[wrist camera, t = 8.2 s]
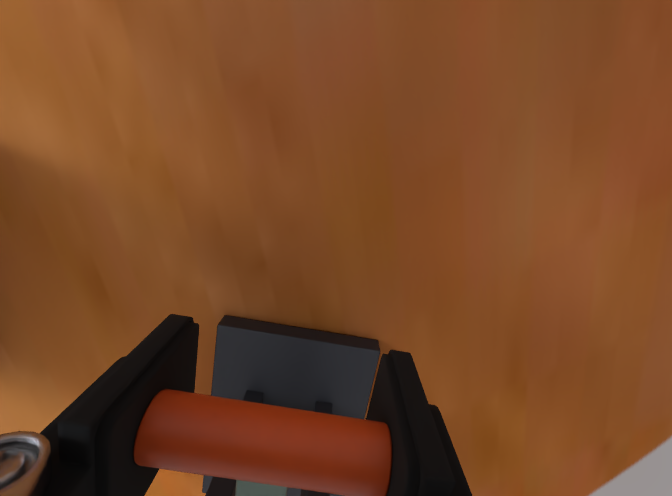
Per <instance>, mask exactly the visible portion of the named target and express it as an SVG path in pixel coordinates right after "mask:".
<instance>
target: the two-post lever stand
mask: <svg viewBox="0 0 672 496" xmlns="http://www.w3.org/2000/svg"><path fill="white" fill-rule="evenodd" d="M379 355H380V348H379V343H378V340H373V339H367V338H361V337H355V336H348V335H342V334H336V333H330V332H324V331H318V330H312V329H306V328H300V327H293V326H287V325H281V324H275V323H269V322H263V321H257V320H251V319H245V318H239V317H232V316H226V315H225V316H224V317H223V318H222V320H221V321H220V322H219V324H218V326H217V337H216V347H215V358H214V369H213V380H212V391H211V396H216V397H223V398H229V399H236V400H242V401H249V402H255V403H262V404H268V405H275V406H281V407H288V408H294V409H300V410H307V411H313V412H320V413H326V414H333V415H339V416H346V417H352V418H359V419H364V417H365V413H366V409H367V405H368V401H369V397H370V392H371V388H372V384H373V380H374V376H375V372H376V368H377V363H378V359H379ZM202 492H203V493H206V495H205V496H235V492H236V480H235V479H228V478H221V477H214V476H207V475H204V478H203V489H202ZM286 496H344V495H337V494H330V493H324V492H317V491H310V490H303V489H296V488H289V487H288V490H287V495H286Z"/></svg>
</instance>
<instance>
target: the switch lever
mask: <svg viewBox="0 0 672 496" xmlns="http://www.w3.org/2000/svg"><path fill="white" fill-rule="evenodd" d="M133 457H134V461H135V463H136V464H137V465H139V466H146V467H152V468H159V469H166V470H173V471H180V472H187V473H193V474H200V475H207V476H214V477H221V478H228V479H235V480H236V492H235V496H286V495H287V490H288V487H289V488H296V489H303V490H310V491H317V492H324V493H330V494H337V495H344V496H386V495H387V492H388V488H389V484H390V479H391V471H392V440H391V434H390V430H389V427H388V425H387V424H386V423H384V422H378V421H371V420H365V419H359V418H352V417H346V416H339V415H333V414H326V413H320V412H313V411H307V410H300V409H294V408H288V407H281V406H275V405H268V404H262V403H255V402H249V401H242V400H236V399H229V398H223V397H216V396H210V395H204V394H197V393H191V392H184V391H178V390H171V389H163V390H161V391H159V392H158V393H157V394H156V395H155V397H154V398H153V399H152V401H151V402H150V404H149V406H148V407H147V409H146V411H145V413H144V415H143V417H142V420H141V422H140V425H139V428H138V431H137V434H136V439H135V443H134V450H133Z"/></svg>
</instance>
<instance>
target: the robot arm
mask: <svg viewBox="0 0 672 496" xmlns="http://www.w3.org/2000/svg"><path fill="white" fill-rule="evenodd" d="M198 336H199V324H198V323H194V321H193V318H192V317H187V316H181V315H175V314H170V315H169V316H168V317H167V318H166V319H165V320H164V321H163V322H162V323H161V324H159V325H158V326H157V327H156V328H155V329H154V330H153V331H152V332H151V333H150V334H149V335H148V336H147V337H146V338H145V339H144V340H143V341H142V342H141V343H140V344H139V345H138V346H137V347H136V348H134V349H133V350H132V351H131V352H130V353H129V354H128V355H127V356H126V357H122V358H120V359H119V360H117V361H116V362H115V363H114V364H113V365H112V366H111V367H110V368H109V369H108V370H107V371H106V372H105V373H103V374H102V375H101V376H100V377H99V378H98V379H97V380H96V381H95V382H94V383H93V384H92V385H91V386H90V387H89V388H87V389H86V390H85V391H84V392H83V393H82V394H81V395H80V396H79V397H78V398H77V399H76V400H75V401H74V402H73V403H72V404H70V405H69V406H68V407H67V408H66V409H65V410H64V411H63V412H62V413H61V414H60V415H59V416H58V417H57V418H56V419H54V420H53V421H52V422H51V423H50V424H49V425H48V426H47V427H46V428H45V429H44V430H43V431H42V432H41V433H40V434H39V433H36V432H29V431H17V432H11V433H5V434H1V435H0V496H144V495H145V493H146V492H147V490H148V488H149V486H150V485H151V483H152V481H153V479H154V478H155V476H156V474H157V472H158V471H159V468H152V467H146V466H139V465H137V464H136V463H135V461H134V457H133V450H134V443H135V439H136V434H137V431H138V428H139V425H140V422H141V420H142V417H143V415H144V413H145V411H146V409H147V407H148V406H149V404H150V402H151V401H152V399H153V398H154V397H155V395H156V394H157V393H158V392H159V391H161V390H163V389H171V390H178V391H184V392H191V393H194V389H195V376H196V363H197V349H198ZM366 420H371V421H378V422H384V423H386V424H387V425H388V427H389V430H390V434H391V440H392V471H391V479H390V484H389V488H388V492H387V495H386V496H472V494H471V491H470V488H469V486H468V483H467V481H466V478H465V475H464V473H463V470H462V468H461V465H460V462H459V460H458V457H457V455H456V452H455V449H454V447H453V444H452V442H451V439H450V436H449V434H448V431H447V429H446V426H445V423H444V421H443V418H442V416H441V413H440V411H439V409H438V407H437V406H435V405H430V404H428V401H427V398H426V396H425V393H424V390H423V387H422V384H421V381H420V378H419V376H418V373H417V370H416V367H415V364H414V361H413V358H412V356H411V354H410V353H408V352H402V351H396V350H390V351H389V354H382V357H381V360H380V364H379V369H378V373H377V377H376V381H375V385H374V389H373V393H372V397H371V401H370V405H369V409H368V414H367V418H366Z"/></svg>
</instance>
